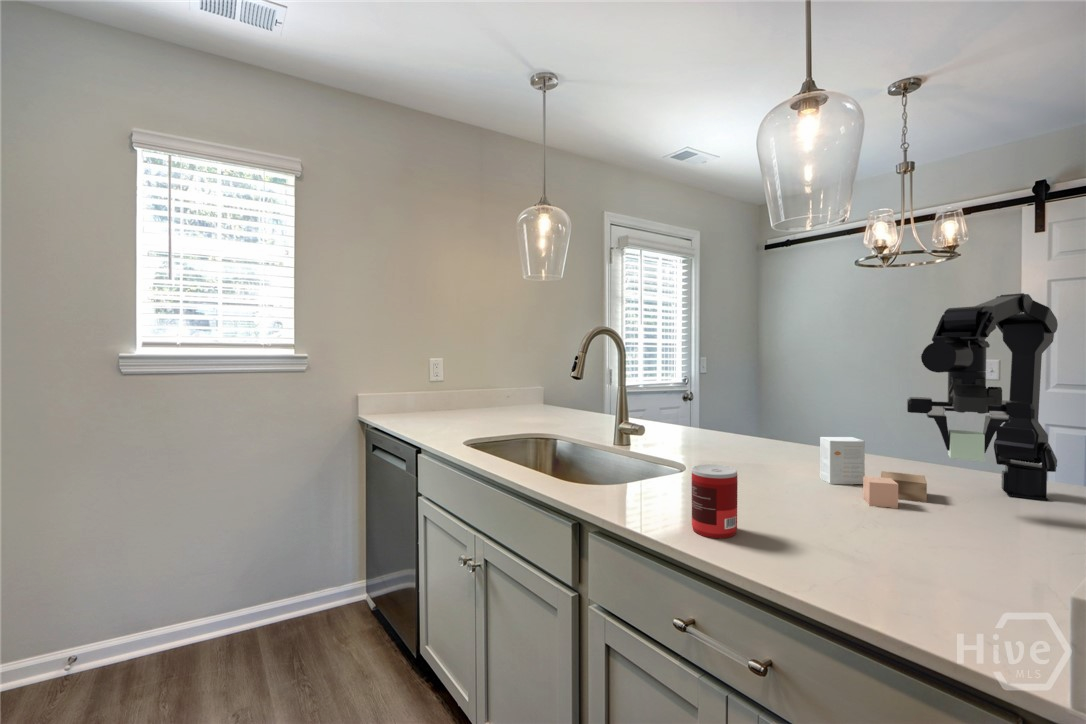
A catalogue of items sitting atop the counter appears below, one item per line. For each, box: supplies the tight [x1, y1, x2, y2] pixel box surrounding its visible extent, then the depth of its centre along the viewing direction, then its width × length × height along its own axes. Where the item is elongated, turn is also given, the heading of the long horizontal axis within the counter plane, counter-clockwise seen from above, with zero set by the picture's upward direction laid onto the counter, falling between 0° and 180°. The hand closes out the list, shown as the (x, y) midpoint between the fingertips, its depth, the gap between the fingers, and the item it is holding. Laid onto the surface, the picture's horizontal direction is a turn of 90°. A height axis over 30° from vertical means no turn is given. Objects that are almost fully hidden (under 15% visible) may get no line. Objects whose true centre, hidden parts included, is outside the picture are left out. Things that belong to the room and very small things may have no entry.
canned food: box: [691, 464, 739, 539], centre depth 91 cm, size 8×8×11 cm
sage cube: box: [947, 429, 985, 463], centre depth 100 cm, size 5×5×5 cm
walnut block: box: [880, 470, 928, 503], centre depth 112 cm, size 8×8×4 cm
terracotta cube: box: [862, 476, 899, 509], centre depth 106 cm, size 5×5×5 cm
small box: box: [819, 436, 866, 485], centre depth 124 cm, size 8×6×10 cm
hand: (965, 451), depth 100 cm, fingers closed on sage cube, 5 cm apart
